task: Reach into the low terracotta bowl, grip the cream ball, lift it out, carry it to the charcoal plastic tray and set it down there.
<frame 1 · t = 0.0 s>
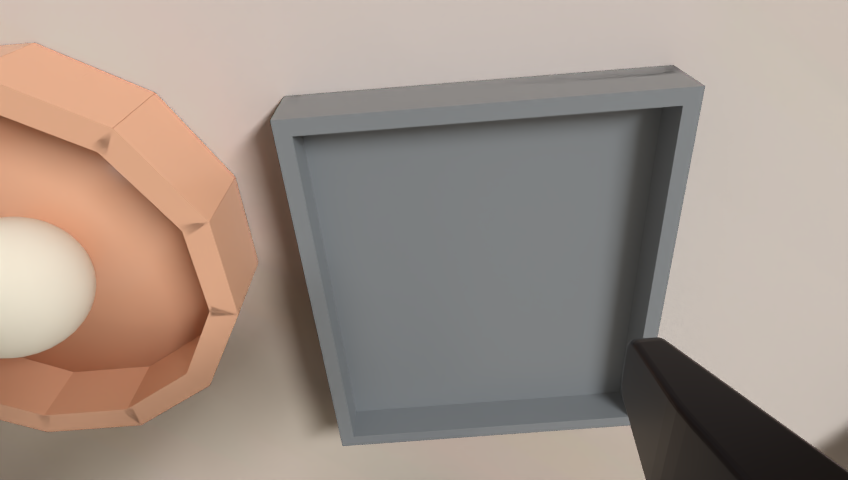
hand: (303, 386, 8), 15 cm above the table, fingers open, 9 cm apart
tray: (481, 264, 25), on the table
bowl: (64, 235, 23), on the table
ball: (15, 286, 20), point 3 cm above the table, touching bowl
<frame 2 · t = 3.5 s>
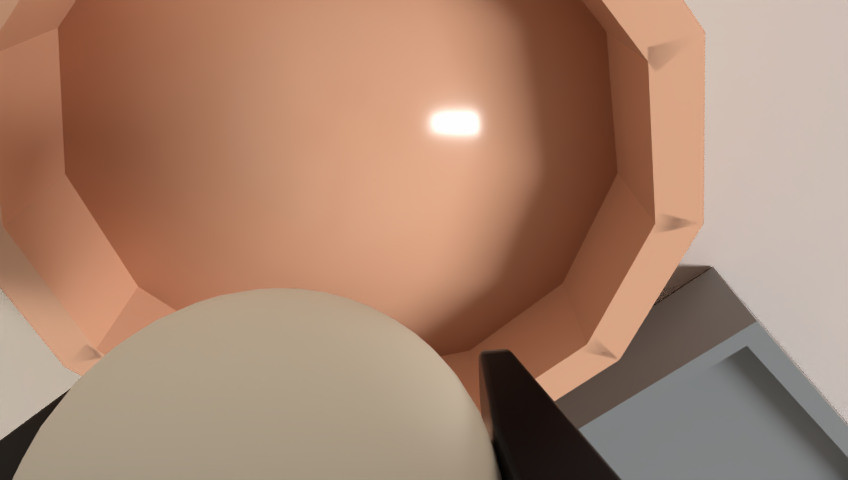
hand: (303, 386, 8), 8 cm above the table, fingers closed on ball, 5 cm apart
bowl: (348, 157, 15), on the table
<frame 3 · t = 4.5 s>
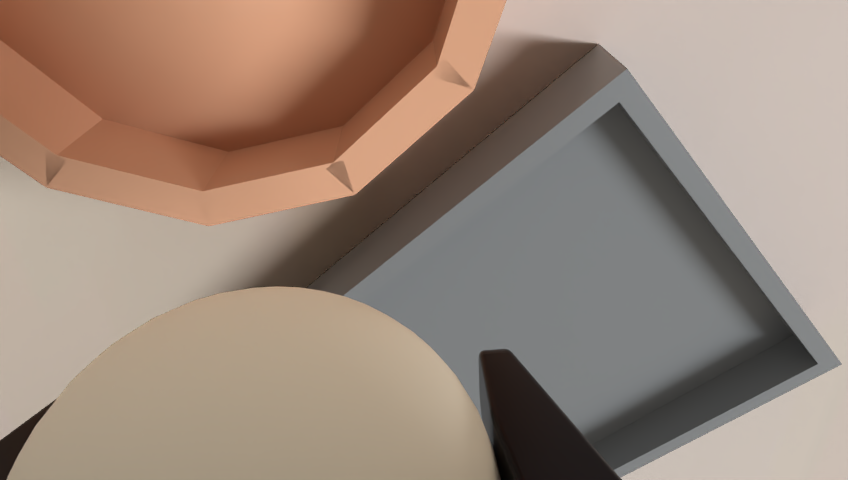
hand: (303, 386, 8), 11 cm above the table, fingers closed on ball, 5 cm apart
tray: (524, 327, 22), on the table
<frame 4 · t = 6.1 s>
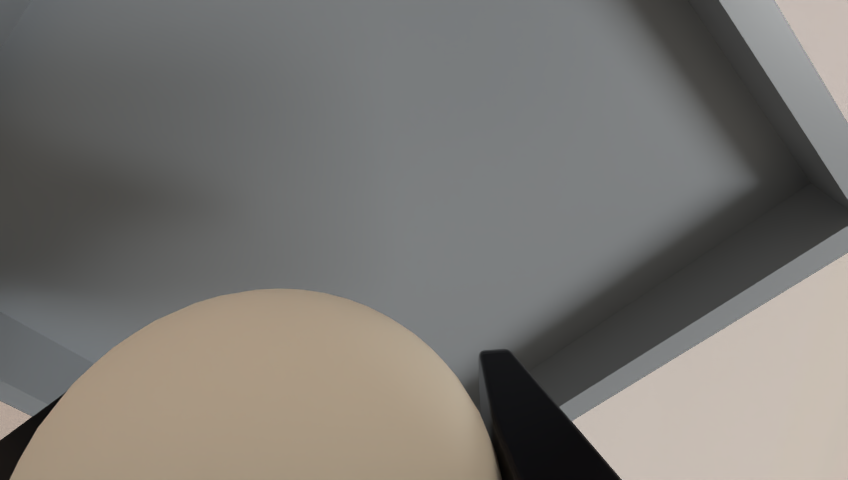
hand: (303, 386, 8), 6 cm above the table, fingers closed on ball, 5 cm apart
tray: (345, 191, 13), on the table
when the fingers open (3 cm above the table, at t = 7.0 s): ball drops 1 cm, resting on tray.
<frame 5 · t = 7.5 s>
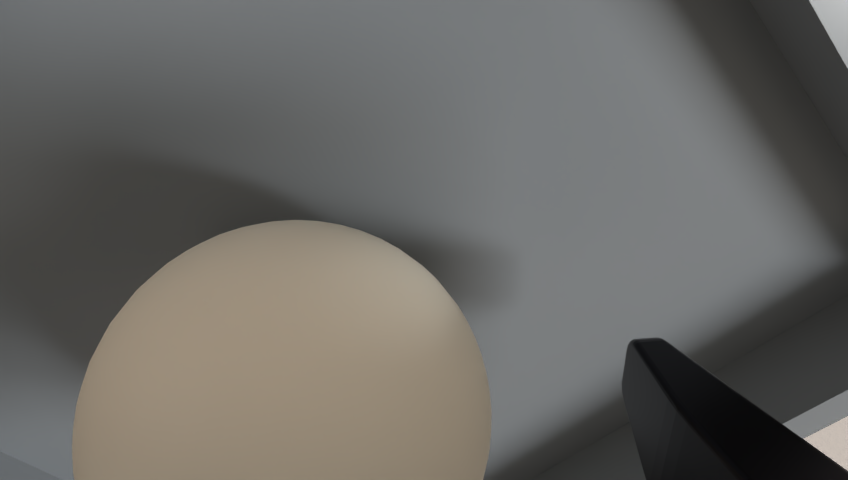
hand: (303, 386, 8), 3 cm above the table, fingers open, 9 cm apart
tray: (329, 263, 10), on the table
ball: (297, 412, 7), point 3 cm above the table, touching tray
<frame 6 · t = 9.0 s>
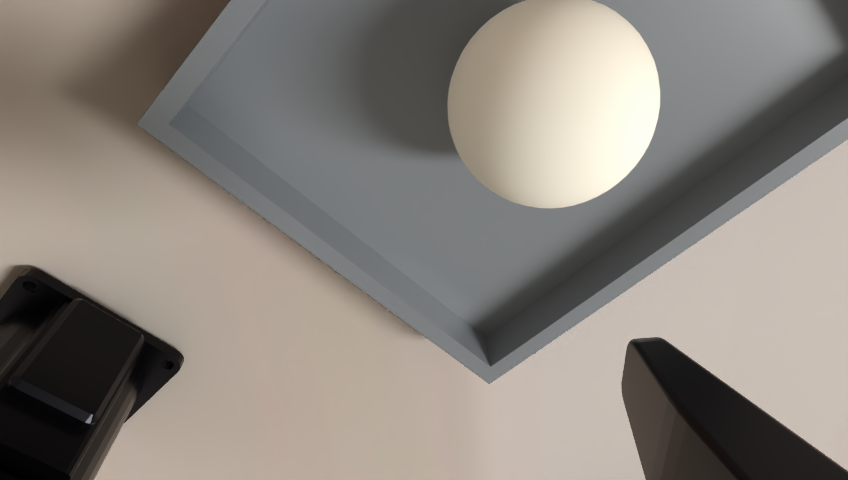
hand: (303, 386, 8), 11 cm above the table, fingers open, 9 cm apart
tray: (524, 67, 17), on the table
ball: (549, 106, 14), point 3 cm above the table, touching tray
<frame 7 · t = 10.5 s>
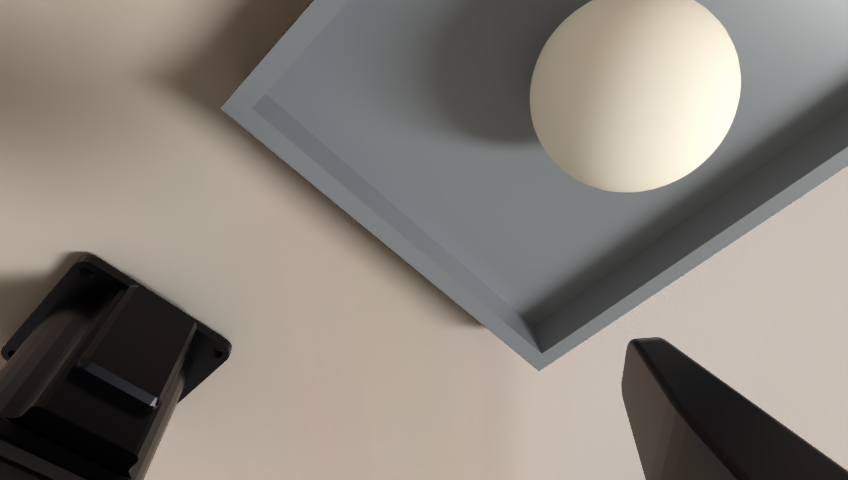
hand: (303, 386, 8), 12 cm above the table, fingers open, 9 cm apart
tray: (586, 60, 18), on the table
ball: (629, 94, 15), point 3 cm above the table, touching tray
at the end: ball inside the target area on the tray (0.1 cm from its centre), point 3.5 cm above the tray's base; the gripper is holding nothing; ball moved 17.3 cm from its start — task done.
